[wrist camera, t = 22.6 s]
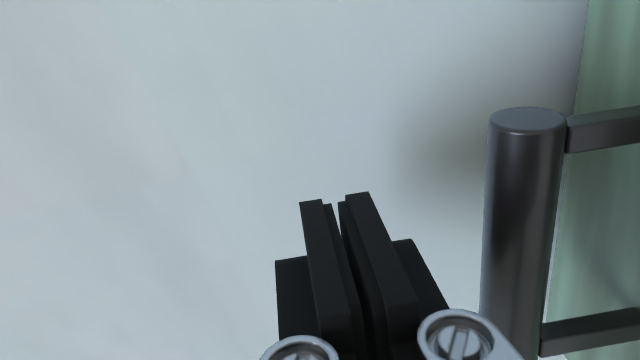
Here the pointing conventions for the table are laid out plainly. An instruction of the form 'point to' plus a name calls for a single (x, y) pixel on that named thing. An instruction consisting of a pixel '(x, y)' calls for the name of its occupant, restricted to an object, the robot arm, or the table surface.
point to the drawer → (570, 206)
